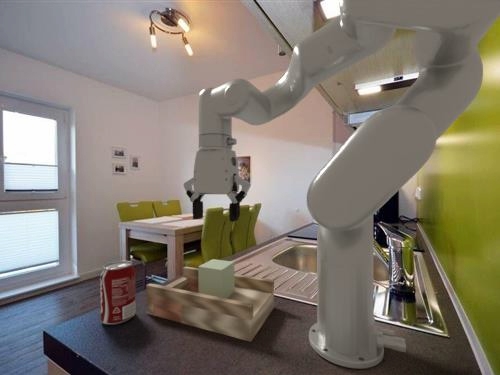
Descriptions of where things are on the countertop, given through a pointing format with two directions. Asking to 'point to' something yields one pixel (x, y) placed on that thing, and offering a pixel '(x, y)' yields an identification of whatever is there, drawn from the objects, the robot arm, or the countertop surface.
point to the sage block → (216, 278)
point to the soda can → (117, 292)
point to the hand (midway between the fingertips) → (215, 219)
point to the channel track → (214, 304)
